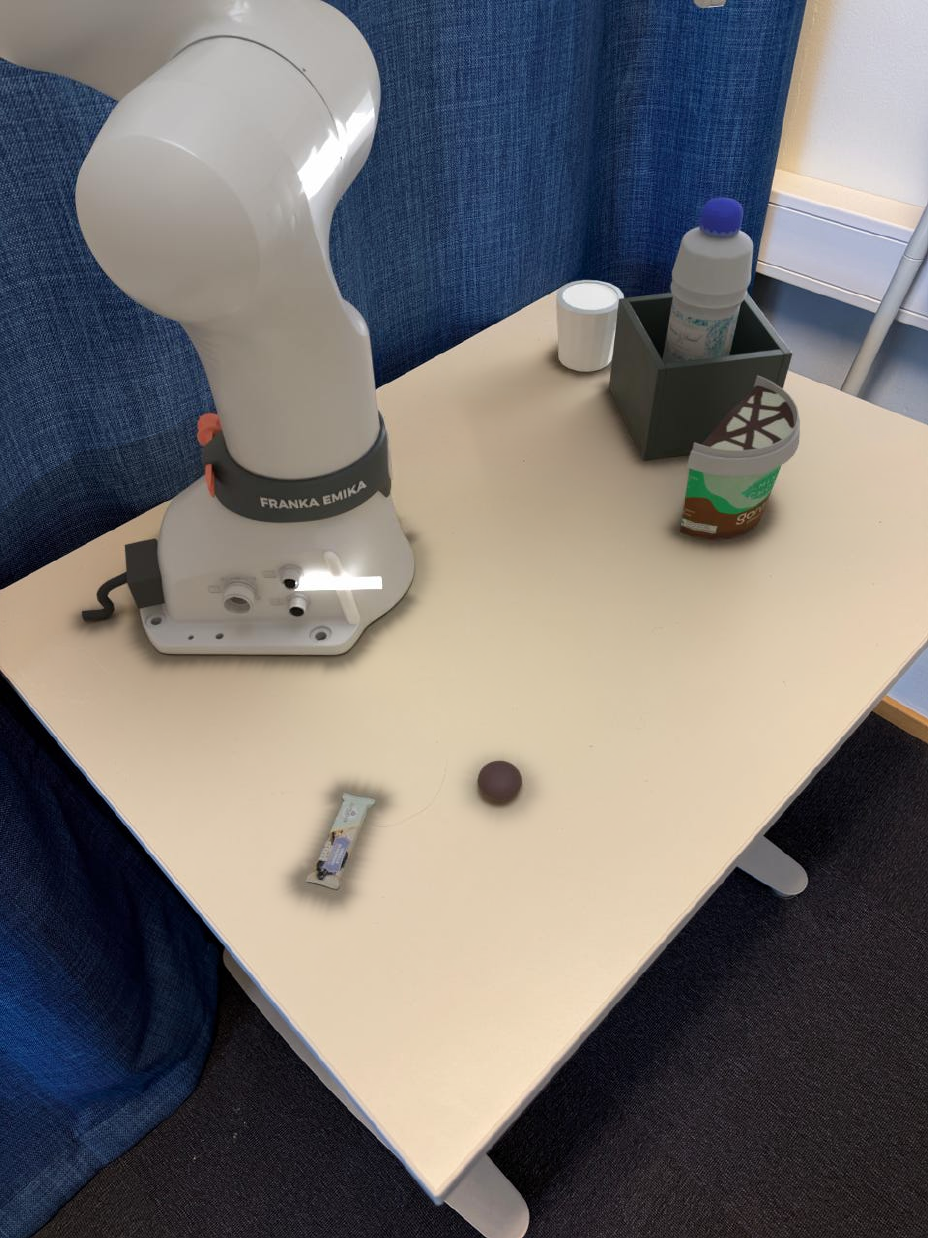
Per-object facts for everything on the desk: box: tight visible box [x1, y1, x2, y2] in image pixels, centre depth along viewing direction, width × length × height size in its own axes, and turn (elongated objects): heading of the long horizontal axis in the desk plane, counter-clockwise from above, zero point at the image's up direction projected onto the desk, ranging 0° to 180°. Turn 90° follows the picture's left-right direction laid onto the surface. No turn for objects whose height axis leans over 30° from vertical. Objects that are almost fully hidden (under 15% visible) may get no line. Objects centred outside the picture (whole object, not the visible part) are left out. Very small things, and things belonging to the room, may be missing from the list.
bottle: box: [662, 197, 754, 363], centre depth 81 cm, size 7×7×20 cm
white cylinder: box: [555, 279, 625, 373], centre depth 94 cm, size 7×7×7 cm
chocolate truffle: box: [477, 760, 523, 802], centre depth 61 cm, size 3×3×2 cm
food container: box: [679, 375, 801, 540], centre depth 75 cm, size 12×6×10 cm, turn 143°
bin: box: [608, 292, 793, 461], centre depth 85 cm, size 12×12×10 cm
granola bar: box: [305, 793, 377, 890], centre depth 59 cm, size 7×2×1 cm, turn 163°
